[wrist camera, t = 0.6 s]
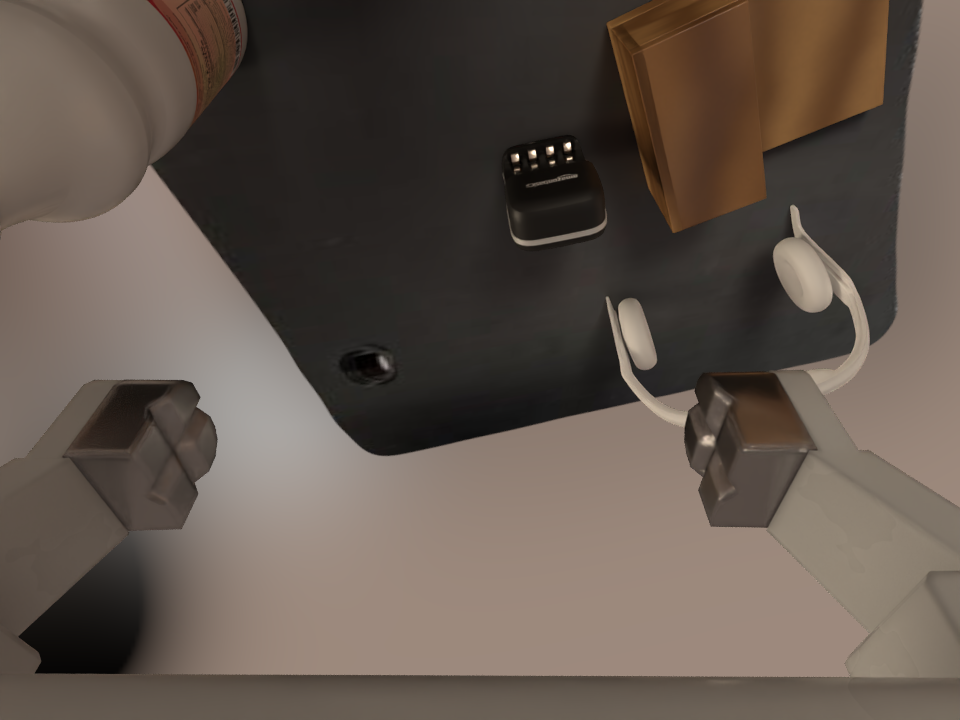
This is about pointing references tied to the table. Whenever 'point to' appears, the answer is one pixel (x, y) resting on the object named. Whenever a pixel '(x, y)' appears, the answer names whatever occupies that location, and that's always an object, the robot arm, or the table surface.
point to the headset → (805, 283)
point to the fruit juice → (102, 95)
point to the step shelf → (808, 63)
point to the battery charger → (552, 194)
